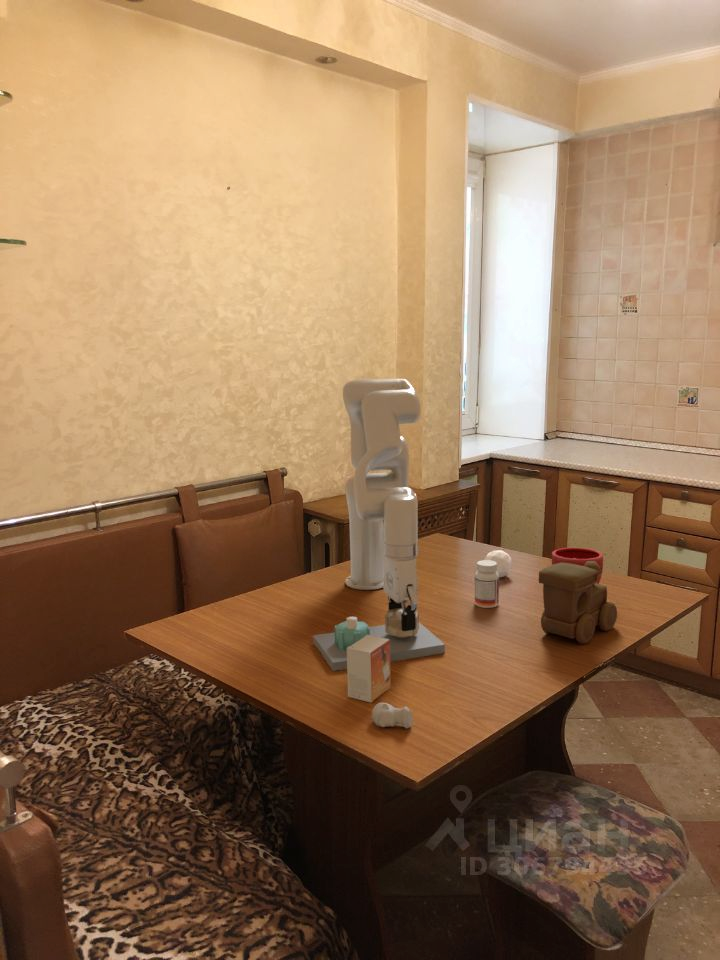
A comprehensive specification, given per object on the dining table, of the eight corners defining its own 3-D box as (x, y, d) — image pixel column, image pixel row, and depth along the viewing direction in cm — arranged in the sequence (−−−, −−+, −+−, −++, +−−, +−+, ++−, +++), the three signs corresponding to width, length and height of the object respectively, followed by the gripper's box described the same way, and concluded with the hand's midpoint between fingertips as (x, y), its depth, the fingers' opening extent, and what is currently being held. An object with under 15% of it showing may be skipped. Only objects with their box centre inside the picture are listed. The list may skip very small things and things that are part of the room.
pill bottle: (485, 598, 211) (486, 557, 209) (503, 604, 206) (504, 562, 204) (469, 604, 207) (469, 562, 205) (487, 610, 202) (488, 567, 200)
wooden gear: (380, 627, 184) (380, 610, 183) (411, 622, 187) (411, 606, 186) (391, 638, 177) (391, 621, 176) (424, 633, 180) (423, 617, 179)
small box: (371, 703, 154) (370, 653, 152) (347, 697, 157) (345, 647, 155) (391, 687, 161) (390, 638, 159) (368, 681, 164) (367, 633, 162)
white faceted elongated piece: (484, 570, 223) (470, 563, 235) (507, 585, 225) (492, 577, 236) (499, 547, 223) (484, 541, 235) (521, 562, 225) (506, 555, 237)
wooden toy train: (577, 651, 176) (579, 580, 173) (533, 638, 184) (534, 569, 181) (621, 626, 190) (623, 559, 187) (578, 615, 198) (580, 550, 195)
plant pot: (612, 597, 210) (614, 553, 208) (578, 607, 203) (580, 562, 200) (573, 584, 221) (574, 542, 218) (540, 594, 213) (541, 551, 211)
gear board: (313, 643, 184) (312, 610, 182) (416, 627, 192) (416, 596, 191) (333, 671, 169) (332, 636, 168) (444, 652, 177) (444, 618, 176)
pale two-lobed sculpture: (368, 730, 147) (382, 711, 151) (405, 741, 142) (418, 721, 146) (363, 712, 145) (377, 694, 149) (400, 723, 141) (414, 704, 144)
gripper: (372, 541, 185) (373, 613, 189) (399, 562, 169) (400, 640, 172) (402, 538, 187) (403, 609, 191) (432, 558, 171) (432, 635, 175)
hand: (401, 623), depth 182 cm, fingers closed on wooden gear, 7 cm apart
